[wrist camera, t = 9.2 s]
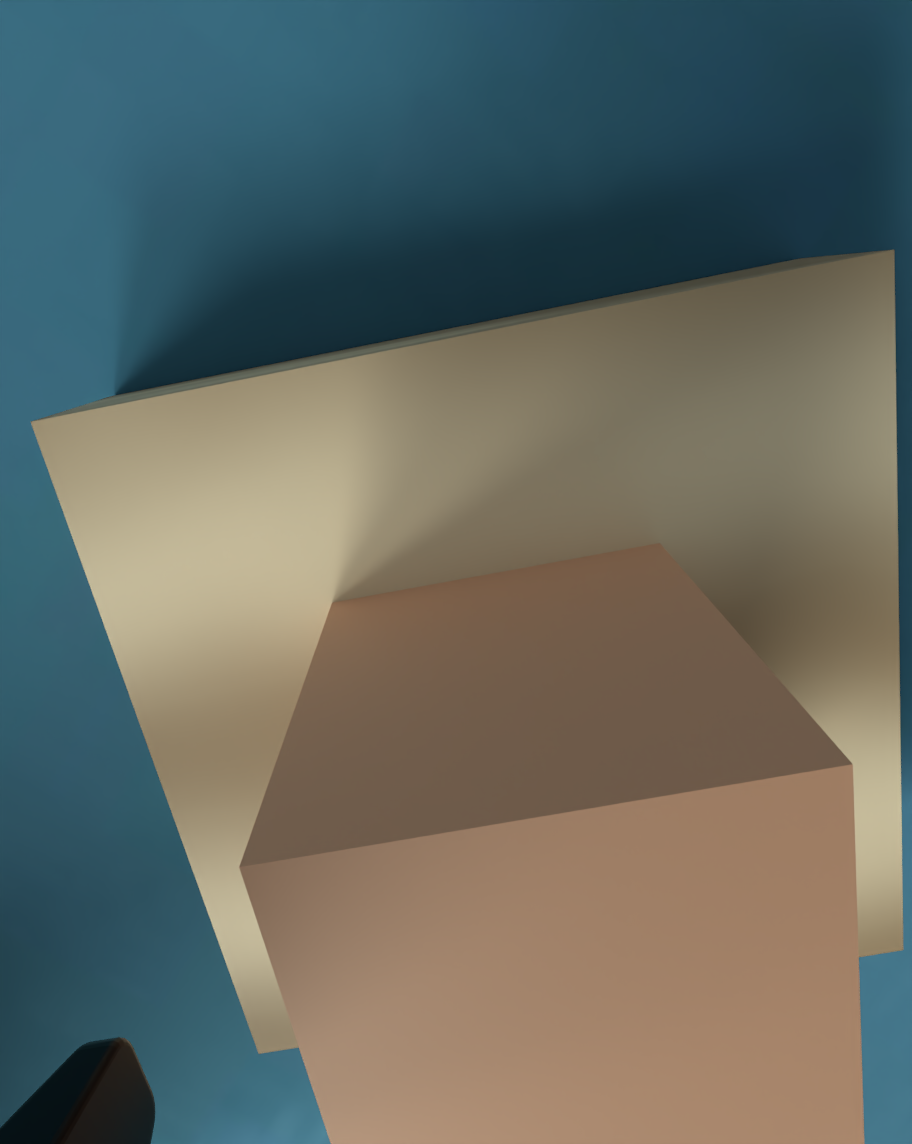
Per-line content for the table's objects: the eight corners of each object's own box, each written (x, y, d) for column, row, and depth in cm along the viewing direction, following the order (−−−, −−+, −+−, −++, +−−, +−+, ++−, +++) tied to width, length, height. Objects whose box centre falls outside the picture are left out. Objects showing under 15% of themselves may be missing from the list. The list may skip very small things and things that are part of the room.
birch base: (828, 843, 18) (903, 949, 15) (287, 934, 18) (259, 1054, 15) (799, 258, 14) (894, 250, 11) (112, 396, 14) (30, 421, 11)
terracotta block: (690, 821, 14) (865, 1193, 8) (399, 870, 14) (372, 1266, 8) (659, 543, 12) (854, 764, 6) (332, 602, 12) (238, 867, 7)
